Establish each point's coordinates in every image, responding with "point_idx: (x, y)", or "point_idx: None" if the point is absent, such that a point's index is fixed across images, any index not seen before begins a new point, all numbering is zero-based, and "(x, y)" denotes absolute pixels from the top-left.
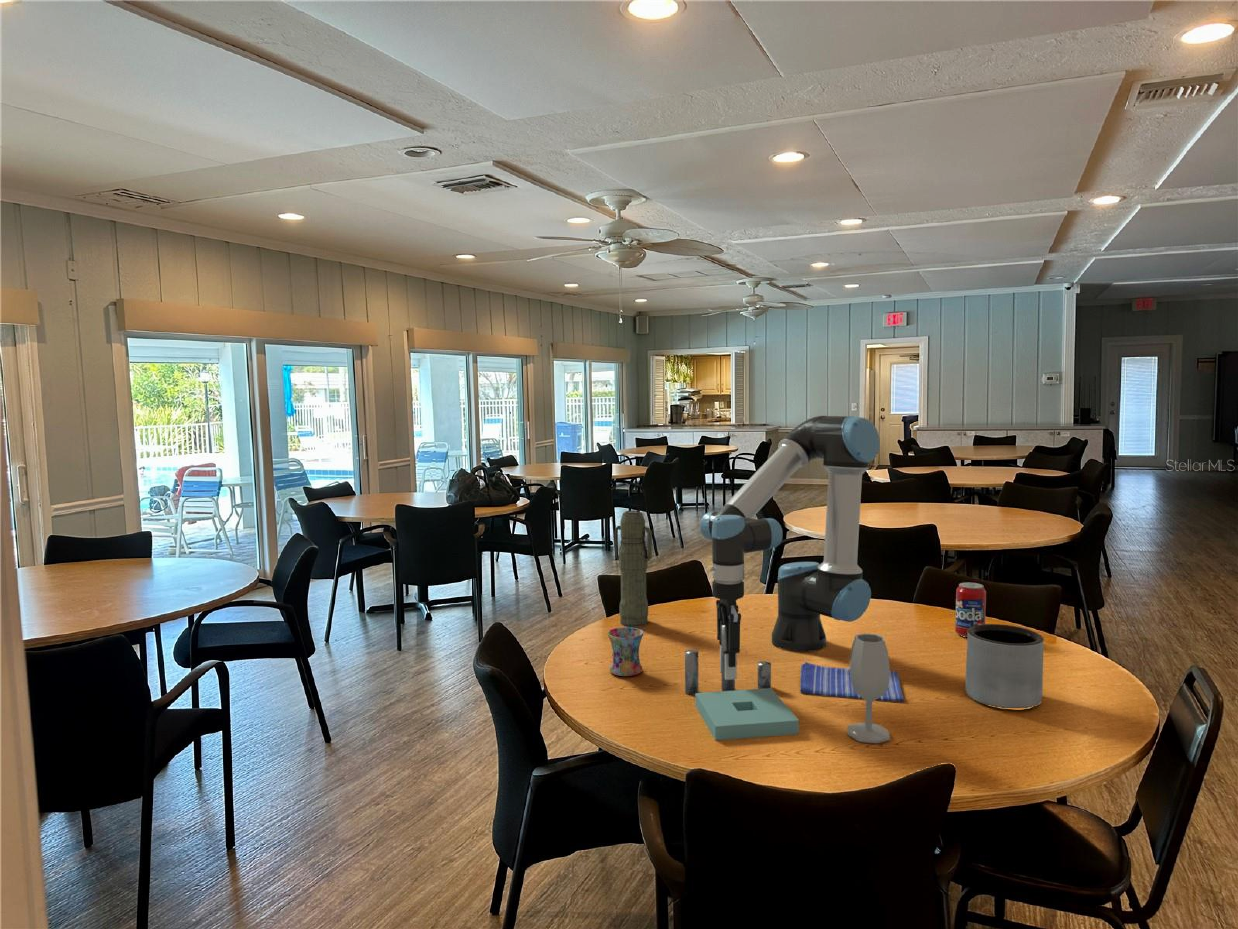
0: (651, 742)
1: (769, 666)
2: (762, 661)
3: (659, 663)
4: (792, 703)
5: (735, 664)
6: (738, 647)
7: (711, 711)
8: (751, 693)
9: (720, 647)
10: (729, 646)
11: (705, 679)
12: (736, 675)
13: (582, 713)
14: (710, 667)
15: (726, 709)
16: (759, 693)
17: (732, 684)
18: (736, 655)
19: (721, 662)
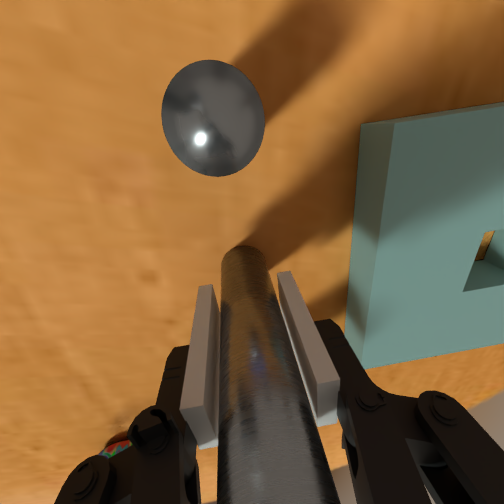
0: (469, 390)
1: (252, 86)
2: (166, 130)
3: (49, 415)
4: (414, 14)
5: (339, 328)
6: (497, 455)
7: (487, 338)
8: (420, 224)
9: (214, 442)
10: (469, 502)
11: (155, 321)
12: (293, 280)
13: (332, 462)
14: (27, 307)
15: (496, 307)
16: (431, 192)
17: (266, 268)
18: (331, 361)
19: (219, 354)
